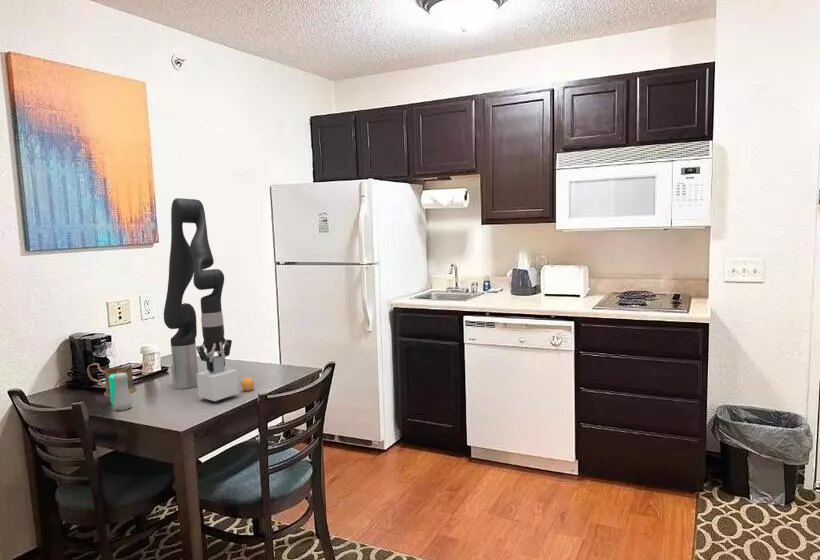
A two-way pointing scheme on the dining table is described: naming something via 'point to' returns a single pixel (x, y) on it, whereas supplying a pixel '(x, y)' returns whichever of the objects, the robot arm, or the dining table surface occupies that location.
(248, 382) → the ball
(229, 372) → the white block with knob
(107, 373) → the mug
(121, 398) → the salt shaker
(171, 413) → the dining table surface
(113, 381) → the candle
